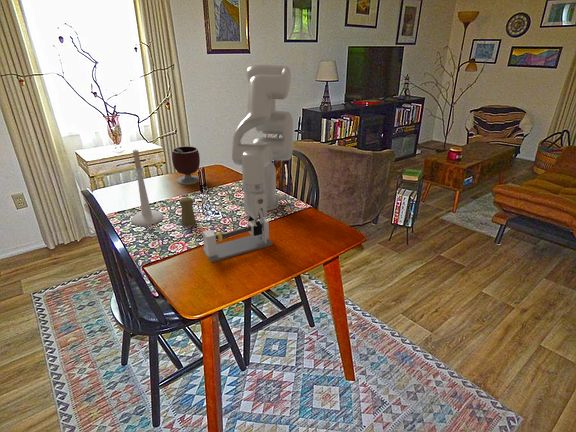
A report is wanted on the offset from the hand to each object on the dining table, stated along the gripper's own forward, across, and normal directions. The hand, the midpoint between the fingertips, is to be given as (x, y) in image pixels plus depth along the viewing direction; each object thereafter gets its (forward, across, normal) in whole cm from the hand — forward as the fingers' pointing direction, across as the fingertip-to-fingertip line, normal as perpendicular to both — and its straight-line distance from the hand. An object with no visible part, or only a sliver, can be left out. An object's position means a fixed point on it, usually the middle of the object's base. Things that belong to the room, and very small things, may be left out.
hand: (254, 231), depth 131 cm
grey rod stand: (+5, 0, +7) cm, 8 cm away
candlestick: (+5, +40, +31) cm, 51 cm away
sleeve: (0, 0, 0) cm, 0 cm away
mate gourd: (+5, +76, +3) cm, 76 cm away
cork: (+5, +28, +17) cm, 33 cm away
